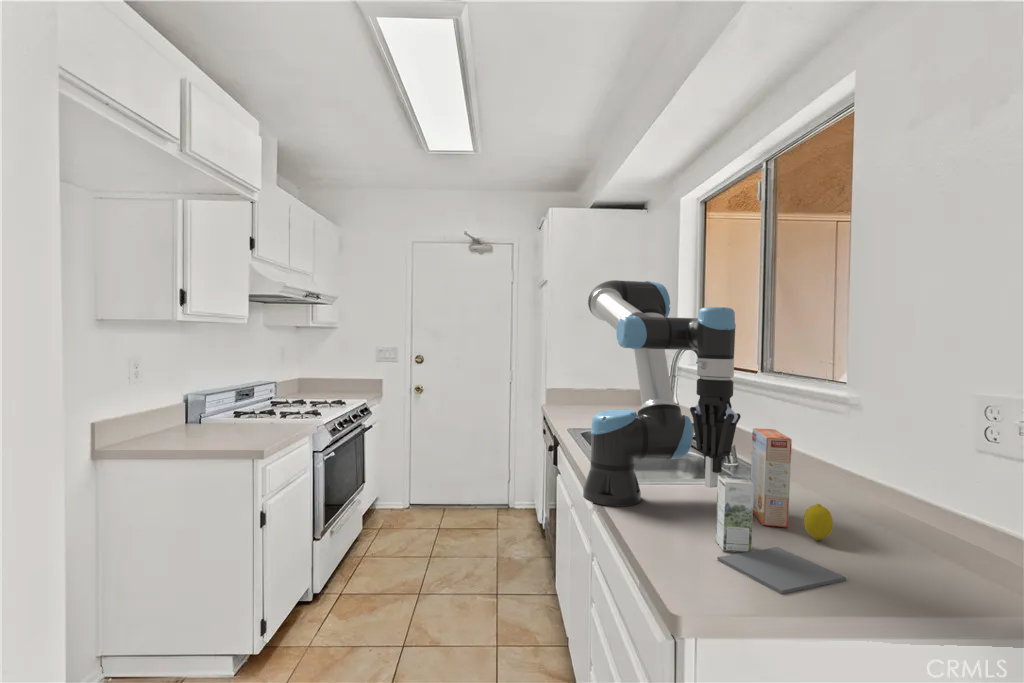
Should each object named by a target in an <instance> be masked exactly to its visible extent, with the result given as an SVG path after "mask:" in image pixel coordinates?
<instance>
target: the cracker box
mask: <svg viewBox="0 0 1024 683" xmlns="http://www.w3.org/2000/svg"><path fill="white" fill-rule="evenodd" d="M751 434H752V436H751V437H752V438H751V439H752V440H751V464H750V467H751V470H750V481H751V482H752V483H753V484H754V499H753V514H754V515H755V517H756V518H757V519H758V521H759V522H760V523H761V524H762V526H768V527H775V526H777V528H778V527H779V528H789V516H790V514H789V512H790V511H789V510H790V489H791V486H790V485H791V483H790V482H791V462H792V442H793V440H792V438H790V437H788V436H787V435H785V434H783V433H781V432H780V431H778V430H776V429H773V428H771V429H770V428H759V427H757V428H753V427H752V433H751Z"/></svg>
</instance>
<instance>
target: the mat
mask: <svg viewBox="0 0 1024 683" xmlns="http://www.w3.org/2000/svg"><path fill="white" fill-rule="evenodd" d="M717 559H718V560H720V561H722V562H723V563H722V562H721V563H722V564H724V563H725V564H727V565H728V566H727V565H726V566H727V567H729V566H731V567H732V569H733V568H734V569H733V570H735V569H736V570H735V571H737V572H739V573H741V574H742V575H744V574H745V576H746V575H747V576H746V577H748V576H749V577H748V578H750V579H752V580H754V581H755V582H757V583H760V584H761V585H764V586H766V587H767V588H769V589H771V590H773V591H775V592H777V593H779V594H780V595H782V594H783V595H785V594H789V593H792V592H797V590H798V591H802V590H801V589H803V590H807V589H811V588H815V587H821V586H826V585H829V584H830V585H831V584H834V583H840V582H845V581H847V576H845V575H843V574H841V573H838V572H836V571H834V570H831V569H829V568H827V567H825V566H823V565H820V564H817V563H815V562H813V561H811V560H809V559H806V558H804V557H802V556H799V555H797V554H795V553H792V552H790V551H787V550H785V549H783V548H781V547H779V546H776V547H770V548H764V549H757V550H751V551H750V552H738V553H734V554H727V555H722V556H717V558H716V560H717ZM718 560H717V561H718ZM720 561H719V562H720ZM725 564H724V565H725ZM731 567H730V568H731ZM788 592H789V593H788Z"/></svg>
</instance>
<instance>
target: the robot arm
mask: <svg viewBox="0 0 1024 683" xmlns="http://www.w3.org/2000/svg"><path fill="white" fill-rule="evenodd" d="M587 305H588V309H589V311H590V313H591V314H592V316H594V317H595V318H596V319H597V320H600V321H602V322H603V321H605V322H606V323H607V324H609V325H610V326H611V327H612V328H613V329H614V330H616V340H617V343H618V345H619V347H621V348H622V349H623V348H624V349H632V350H633V352H634V358H635V365H636V370H637V372H636V373H637V379H638V386H639V393H640V400H641V406H640V408H638V410H637V412H636V411H635V410H633V409H629V408H628V409H627V408H626V409H609V410H603V411H599V412H598V413H597V412H596V414H594V415H593V417H592V421H591V429H590V434H591V437H590V469H589V470H588V471H589V472H588V475H587V476H586V480H585V482H584V486H583V491H582V497H583V498H584V499H585V500H586V501H588V502H591V503H594V504H597V505H603V506H609V507H610V506H611V507H629V506H634V505H638V504H639V503H640V502H641V501H642V500H641V496H642V495H641V494H642V493H641V489H640V488H641V487H640V485H639V482H638V478H637V475H636V474H637V473H636V471H635V469H636V466H635V463H636V460H667V461H670V460H679V459H683V458H685V457H687V454H688V453H689V451H691V447H692V443H693V438H694V434H695V444H696V450H697V451H698V452H701V453H702V454H703V456H704V457H703V468H704V472H705V475H704V487H707V488H710V489H711V488H712V489H713V488H718V475H720V474H721V473H722V470H723V468H722V466H723V458H724V457H730V455H731V451H732V447H733V442H734V438H735V433H736V429H737V424H738V423H739V421H740V419H741V416H742V415H741V414H740V413H736V412H735V411H734V410H733V408H732V407H733V406H732V403H731V398H732V397H734V381H733V380H732V379H731V378H734V376H735V347H736V346H735V344H736V329H737V328H736V327H737V326H736V325H737V324H736V318H735V317H736V315H735V314H736V313H735V310H734V309H733V308H731V307H724V306H723V307H720V306H719V307H718V306H715V307H714V306H713V307H711V306H709V307H707V306H706V307H701V308H700V309H699V311H698V317H669V316H670V315H669V314H670V311H671V306H670V305H671V299H670V295H669V292H668V289H667V288H666V286H664V284H663V283H660V282H655V281H650V280H647V281H637V280H636V281H635V280H618V279H614V280H607V281H604V282H602V283H600V284H598V285H597V286H595V287H594V288H593V289H592V290H591V292H590V293H589V296H588V300H587ZM666 350H674V351H675V350H679V351H681V350H682V351H697V370H696V372H697V373H696V375H697V376H698V377H699V378H697V380H696V395H697V396H699V399H698V402H697V404H696V406H691V407H690V408H689V411H690V414H691V416H692V419H691V418H690V417H689V416H687V415H685V414H683V415H682V410H681V406H680V405H678V404H677V403H676V402H675V401H674V398H673V392H672V387H671V386H672V384H671V380H670V379H671V378H670V372H669V367H668V361H667V355H666ZM692 421H693V423H692Z"/></svg>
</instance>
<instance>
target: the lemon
mask: <svg viewBox="0 0 1024 683" xmlns="http://www.w3.org/2000/svg"><path fill="white" fill-rule="evenodd" d="M803 516H804V518H803V525H804V528H805V531H806V533H808V535H810V536H811V537H812V538H814V540H815V541H817V540H820V541H821V540H823V539H826V538H827V537H829V536H830V535H831V533H832V532H833V529H834V520H833V516H832V514H831V512H830V511H829V509H827V508H826V507H825V506H823V505H822V504H820V503H817V504H814V505H811V506H810V507H808V508H807V509H806V511H805V513H804V515H803Z"/></svg>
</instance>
